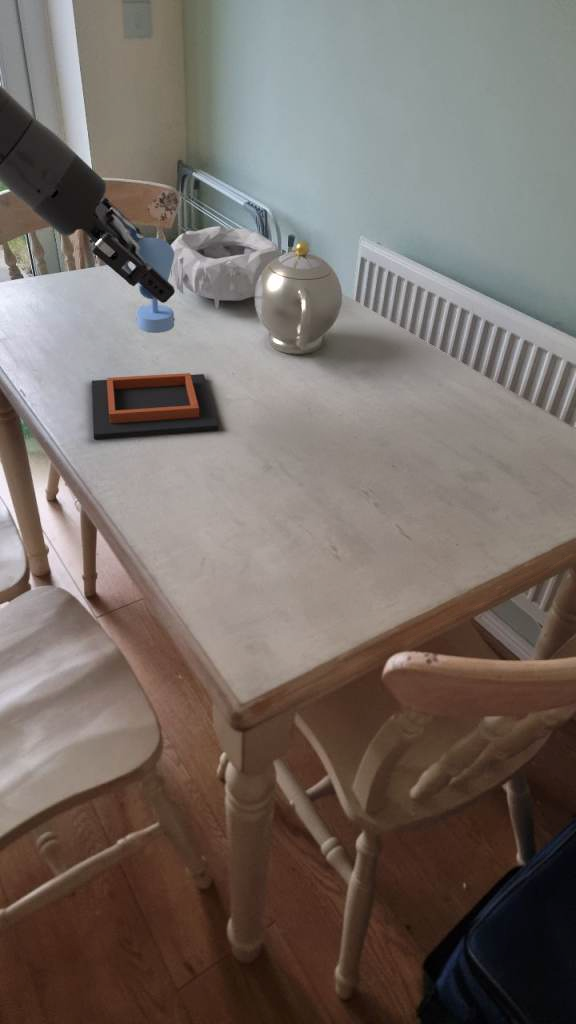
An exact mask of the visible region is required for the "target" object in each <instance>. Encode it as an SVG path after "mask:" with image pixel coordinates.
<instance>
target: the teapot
mask: <svg viewBox="0 0 576 1024" xmlns="http://www.w3.org/2000/svg"><path fill="white" fill-rule="evenodd" d="M342 303H343V292H342V285H341V282H340V279H339V277H338V275H337V273H336V271H335V270H334V269H333V267H332V266H331V265H330V264H329V263H328V262H327V261H325V260H324V258H321V257H320V256H318V255H316V254H314V253H311V252H309V245H308V243H306V242H305V241H299V242H297V243H296V244H295V247H294V249H293V250H291V251H290V252H286V253H283V254H282V255H281V256H279V257H277V258H275V259H274V260H273V261H271V262H270V263H269V264H268V265H267V266H266V267H265V268H264V270H263V271H262V273H261V274H260V276H259V278H258V281H257V284H256V288H255V296H254V307H255V312H256V314H257V317H258V319H259V320H260V322H261V324H262V326H263V327H264V328H265V329H266V331H268V335H267V340H268V343H269V344H270V346H271V347H272V348H273V349H275V350H276V351H279V352H280V353H281V352H282V353H284V354H289V355H307V354H311V353H313V352H315V351H317V350H318V349H319V348H320V347H321V346H322V344H323V336H324V335H325V334H327V333H328V332H329V331H330V329H331V328H332V327H333V326H334V324H335V323H336V321H337V319H338V317H339V315H340V312H341V309H342Z"/></svg>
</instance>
